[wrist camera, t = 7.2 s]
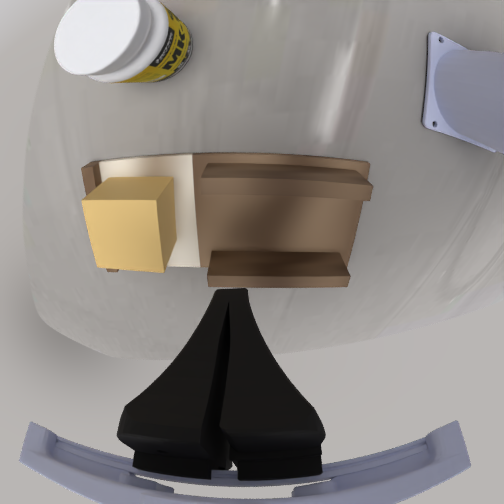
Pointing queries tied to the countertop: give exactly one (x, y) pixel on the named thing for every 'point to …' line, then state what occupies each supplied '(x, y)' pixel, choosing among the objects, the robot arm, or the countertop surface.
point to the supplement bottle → (122, 41)
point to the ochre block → (132, 222)
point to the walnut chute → (257, 214)
